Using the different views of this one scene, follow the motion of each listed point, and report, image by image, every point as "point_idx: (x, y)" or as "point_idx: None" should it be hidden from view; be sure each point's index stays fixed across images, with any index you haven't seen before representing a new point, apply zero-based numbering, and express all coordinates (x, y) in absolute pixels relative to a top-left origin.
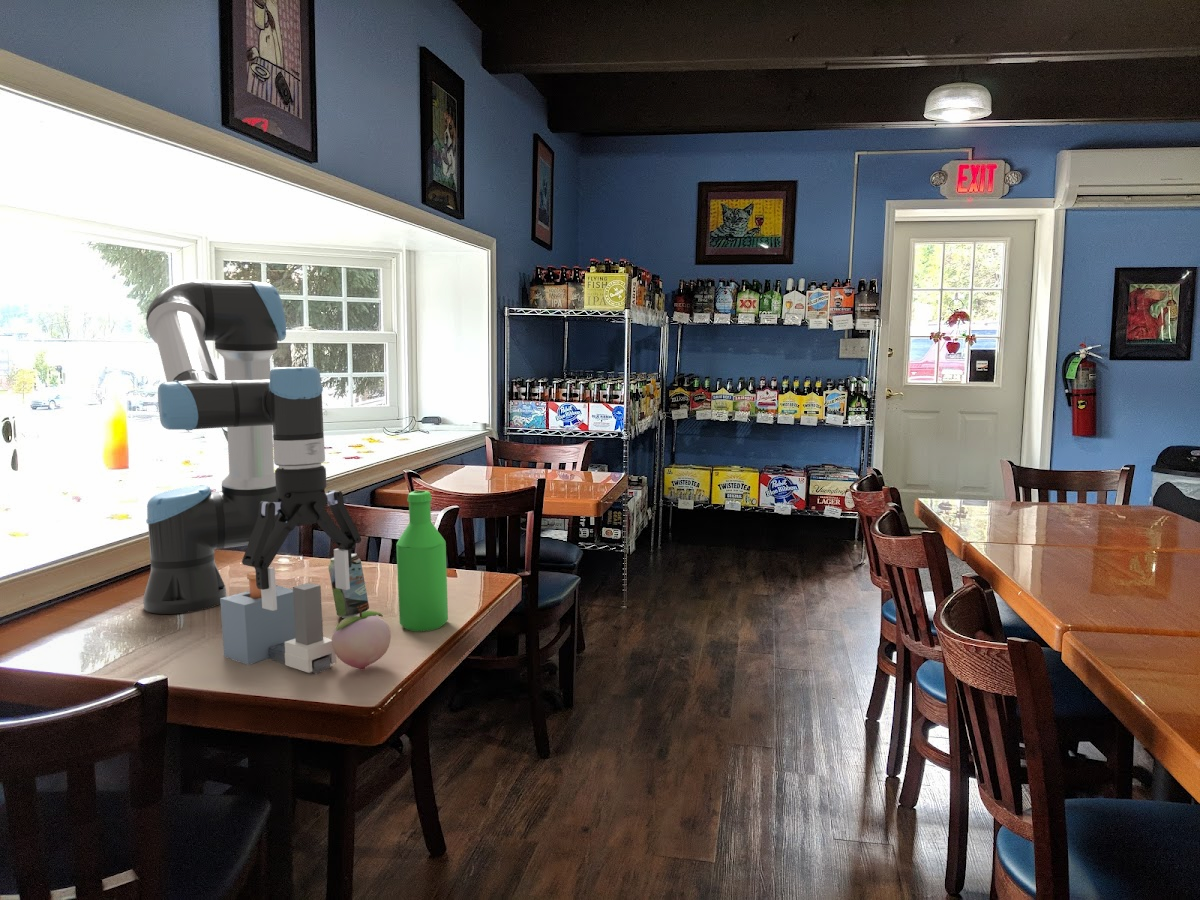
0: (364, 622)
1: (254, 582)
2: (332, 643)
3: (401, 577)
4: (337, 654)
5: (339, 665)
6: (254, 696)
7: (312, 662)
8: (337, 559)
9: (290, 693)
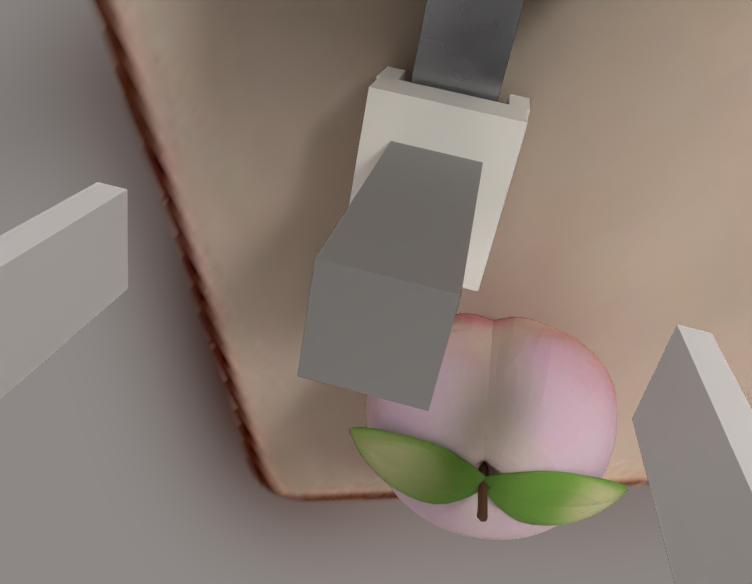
0: (437, 518)
1: None
2: None
3: None
4: None
5: (500, 246)
6: (152, 157)
7: None
8: (720, 522)
9: (229, 250)
